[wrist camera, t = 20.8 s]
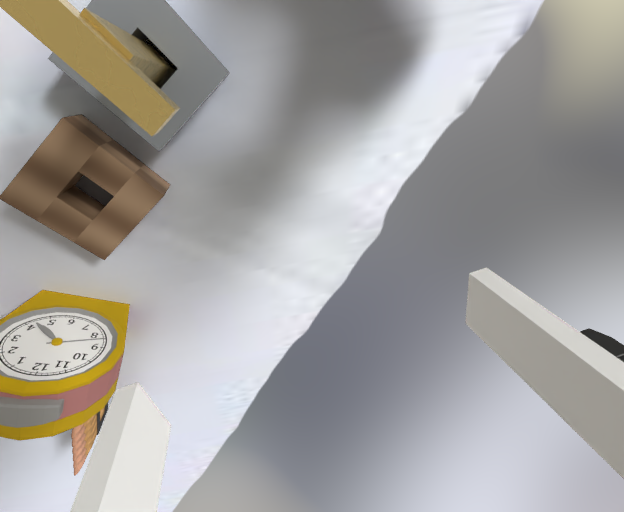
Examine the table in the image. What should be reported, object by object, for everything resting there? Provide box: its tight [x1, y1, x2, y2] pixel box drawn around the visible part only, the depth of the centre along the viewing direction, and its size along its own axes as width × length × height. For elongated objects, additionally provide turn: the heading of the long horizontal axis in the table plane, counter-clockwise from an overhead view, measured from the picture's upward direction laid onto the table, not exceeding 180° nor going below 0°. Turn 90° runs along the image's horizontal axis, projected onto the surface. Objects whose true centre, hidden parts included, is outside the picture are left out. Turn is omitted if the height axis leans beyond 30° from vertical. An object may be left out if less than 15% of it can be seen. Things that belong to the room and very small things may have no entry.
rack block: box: [48, 0, 229, 151], centre depth 34 cm, size 12×12×5 cm
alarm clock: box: [0, 290, 130, 440], centre depth 40 cm, size 15×8×18 cm, turn 67°
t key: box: [0, 0, 180, 136], centre depth 27 cm, size 3×11×21 cm, turn 42°
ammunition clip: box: [71, 402, 108, 475], centre depth 51 cm, size 11×2×12 cm, turn 164°
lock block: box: [0, 114, 170, 260], centre depth 38 cm, size 12×12×5 cm
